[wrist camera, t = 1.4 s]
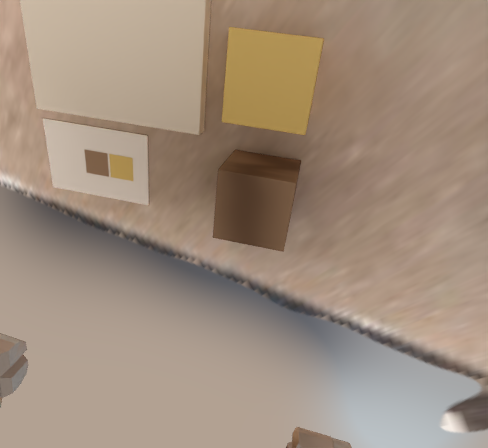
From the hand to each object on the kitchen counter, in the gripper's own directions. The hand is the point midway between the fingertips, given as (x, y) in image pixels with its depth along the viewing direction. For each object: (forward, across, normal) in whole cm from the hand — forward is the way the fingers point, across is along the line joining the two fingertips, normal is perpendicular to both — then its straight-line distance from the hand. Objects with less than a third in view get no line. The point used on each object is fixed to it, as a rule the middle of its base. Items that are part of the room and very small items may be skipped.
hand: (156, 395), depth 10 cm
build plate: (+20, +12, -8) cm, 24 cm away
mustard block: (+20, 0, -8) cm, 21 cm away
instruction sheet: (+20, +13, +3) cm, 24 cm away
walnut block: (+20, -1, 0) cm, 20 cm away
